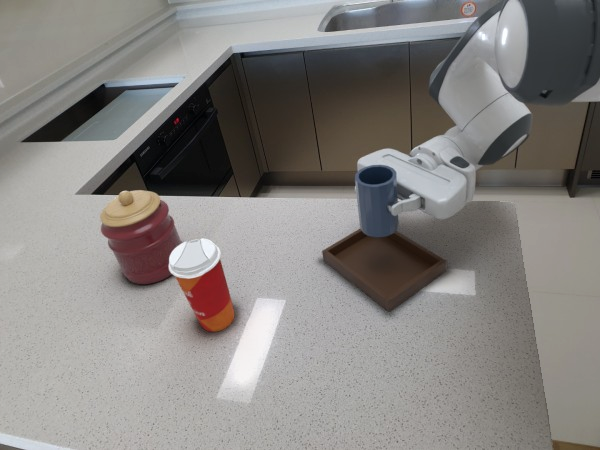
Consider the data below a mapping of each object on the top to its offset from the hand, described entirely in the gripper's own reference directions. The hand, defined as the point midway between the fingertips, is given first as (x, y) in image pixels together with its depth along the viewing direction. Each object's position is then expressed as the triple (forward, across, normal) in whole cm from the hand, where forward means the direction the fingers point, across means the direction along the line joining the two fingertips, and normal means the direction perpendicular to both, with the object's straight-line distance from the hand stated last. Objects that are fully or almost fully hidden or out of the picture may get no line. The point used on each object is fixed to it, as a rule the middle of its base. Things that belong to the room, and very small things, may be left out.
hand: (373, 201), depth 74 cm
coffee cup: (+28, -10, +15) cm, 33 cm away
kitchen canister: (+31, -33, +15) cm, 48 cm away
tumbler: (-1, 0, +6) cm, 6 cm away
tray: (-1, 0, +15) cm, 15 cm away
